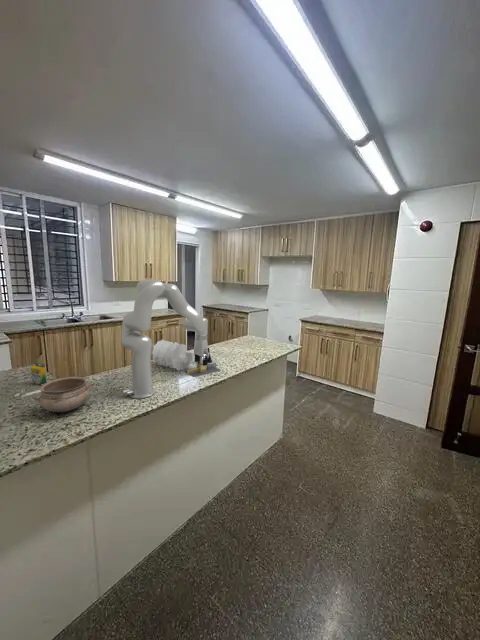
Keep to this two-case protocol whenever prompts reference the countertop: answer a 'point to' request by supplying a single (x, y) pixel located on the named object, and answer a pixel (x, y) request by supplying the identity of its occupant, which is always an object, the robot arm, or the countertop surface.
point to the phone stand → (208, 358)
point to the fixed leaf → (209, 366)
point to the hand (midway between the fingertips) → (200, 363)
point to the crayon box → (38, 374)
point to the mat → (204, 372)
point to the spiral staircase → (171, 355)
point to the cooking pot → (64, 394)
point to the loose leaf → (197, 369)
